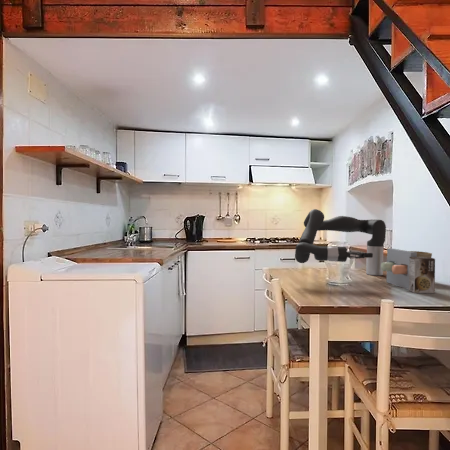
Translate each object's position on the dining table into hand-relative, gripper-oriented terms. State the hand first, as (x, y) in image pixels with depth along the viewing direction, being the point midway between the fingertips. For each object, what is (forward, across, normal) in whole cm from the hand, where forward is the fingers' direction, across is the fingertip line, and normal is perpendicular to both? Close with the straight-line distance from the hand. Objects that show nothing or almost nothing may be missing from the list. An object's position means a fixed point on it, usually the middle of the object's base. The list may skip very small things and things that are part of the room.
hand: (372, 255), depth 172 cm
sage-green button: (+12, -11, -9) cm, 18 cm away
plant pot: (+29, -21, -15) cm, 39 cm away
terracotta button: (+14, -1, -9) cm, 17 cm away
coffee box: (+20, +7, -16) cm, 27 cm away
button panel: (+16, -6, -16) cm, 23 cm away
